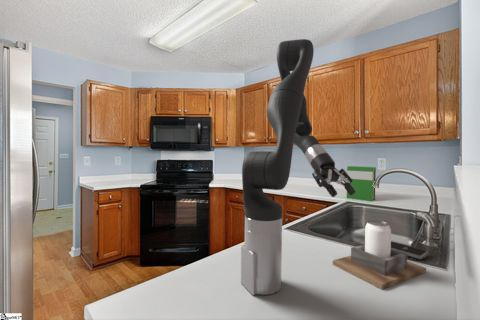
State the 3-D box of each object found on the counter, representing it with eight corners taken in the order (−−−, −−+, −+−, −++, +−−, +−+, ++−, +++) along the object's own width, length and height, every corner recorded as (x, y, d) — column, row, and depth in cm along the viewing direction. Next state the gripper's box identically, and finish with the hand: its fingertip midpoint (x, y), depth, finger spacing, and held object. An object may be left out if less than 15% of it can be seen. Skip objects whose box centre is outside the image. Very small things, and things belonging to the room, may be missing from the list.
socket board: (381, 289, 59) (382, 269, 59) (332, 264, 72) (333, 247, 72) (426, 272, 68) (426, 254, 68) (375, 252, 82) (375, 237, 81)
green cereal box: (374, 200, 178) (375, 167, 177) (372, 201, 172) (372, 167, 172) (349, 196, 190) (350, 166, 189) (346, 198, 184) (347, 166, 184)
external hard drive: (420, 262, 75) (420, 256, 75) (382, 251, 84) (382, 245, 84) (428, 257, 79) (428, 251, 79) (391, 246, 88) (391, 241, 88)
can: (367, 257, 75) (368, 218, 75) (391, 263, 71) (392, 222, 70) (362, 264, 70) (363, 222, 70) (388, 271, 66) (389, 227, 65)
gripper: (309, 151, 84) (335, 189, 75) (338, 152, 91) (366, 186, 81) (299, 166, 89) (322, 203, 79) (327, 165, 96) (352, 199, 86)
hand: (344, 194), depth 80 cm, fingers open, 8 cm apart
